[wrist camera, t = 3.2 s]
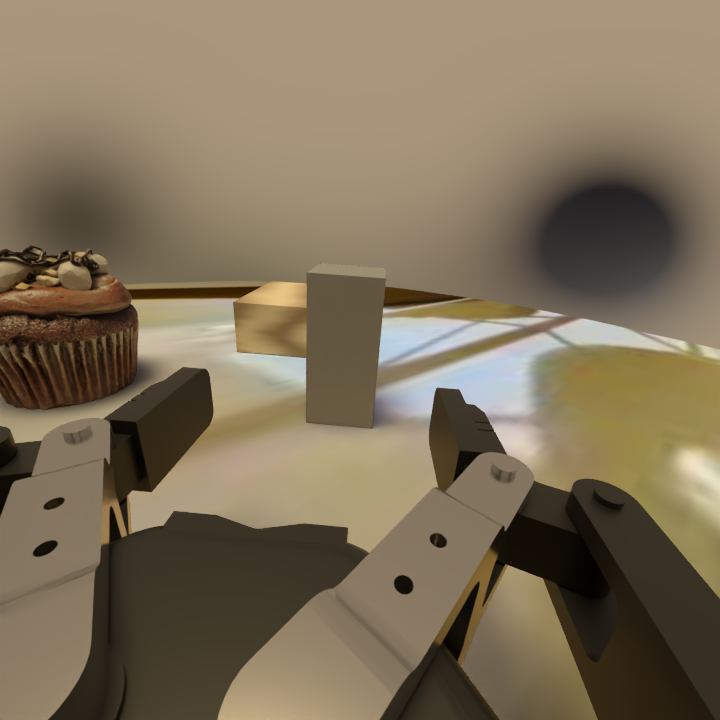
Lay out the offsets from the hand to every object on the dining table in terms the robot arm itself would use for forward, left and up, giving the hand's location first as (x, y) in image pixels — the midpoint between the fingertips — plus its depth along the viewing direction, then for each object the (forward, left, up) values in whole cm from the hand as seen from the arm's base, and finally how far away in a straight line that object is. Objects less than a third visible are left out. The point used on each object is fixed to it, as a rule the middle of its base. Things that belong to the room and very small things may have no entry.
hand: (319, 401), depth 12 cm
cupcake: (-23, -4, -7) cm, 25 cm away
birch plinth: (-21, +17, -7) cm, 28 cm away
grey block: (-7, +9, -7) cm, 13 cm away
